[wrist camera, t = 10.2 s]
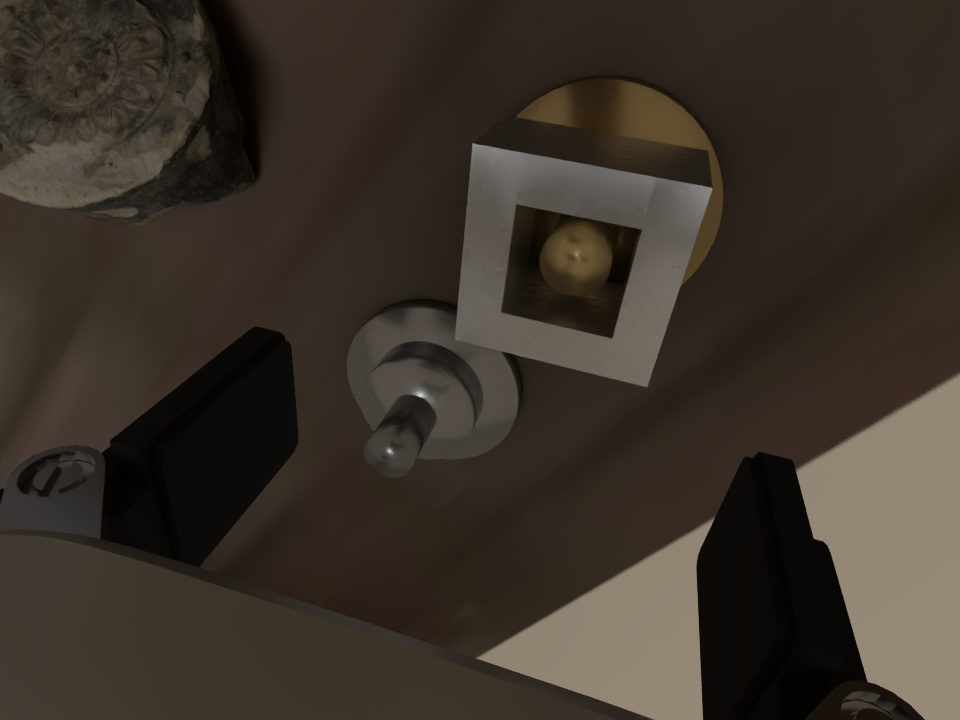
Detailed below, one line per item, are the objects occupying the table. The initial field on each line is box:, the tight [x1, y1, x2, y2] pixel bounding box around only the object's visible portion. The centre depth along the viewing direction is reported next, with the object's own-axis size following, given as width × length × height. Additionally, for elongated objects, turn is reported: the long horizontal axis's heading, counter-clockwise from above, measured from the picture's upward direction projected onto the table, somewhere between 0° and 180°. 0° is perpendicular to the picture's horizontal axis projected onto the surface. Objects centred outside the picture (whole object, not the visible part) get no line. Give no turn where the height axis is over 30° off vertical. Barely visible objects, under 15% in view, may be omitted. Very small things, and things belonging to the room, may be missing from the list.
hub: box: [516, 76, 723, 296], centre depth 21 cm, size 9×9×6 cm
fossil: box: [0, 0, 255, 227], centre depth 24 cm, size 11×9×10 cm
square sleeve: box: [455, 116, 713, 387], centre depth 19 cm, size 6×6×4 cm
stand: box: [347, 300, 522, 478], centre depth 28 cm, size 9×9×6 cm
